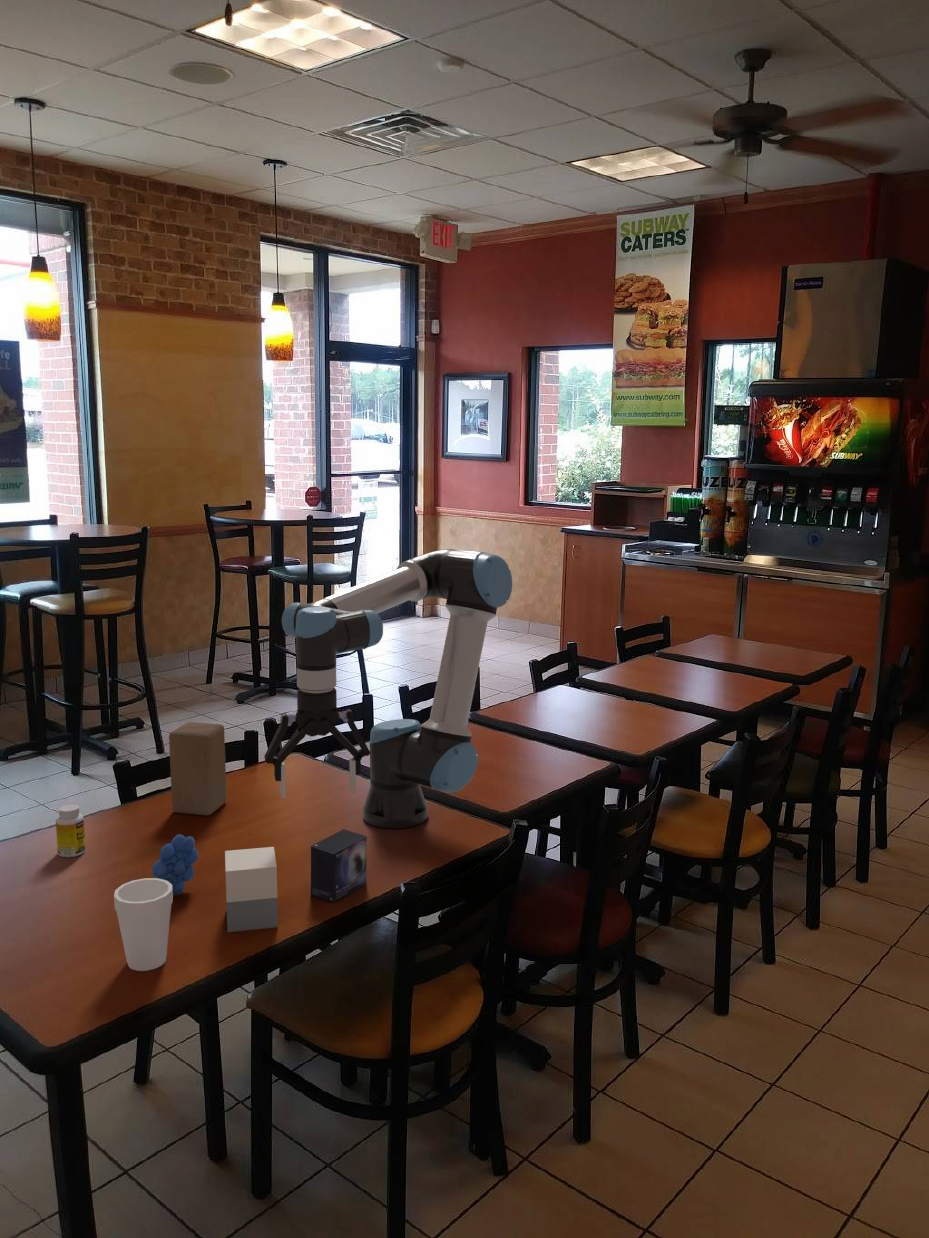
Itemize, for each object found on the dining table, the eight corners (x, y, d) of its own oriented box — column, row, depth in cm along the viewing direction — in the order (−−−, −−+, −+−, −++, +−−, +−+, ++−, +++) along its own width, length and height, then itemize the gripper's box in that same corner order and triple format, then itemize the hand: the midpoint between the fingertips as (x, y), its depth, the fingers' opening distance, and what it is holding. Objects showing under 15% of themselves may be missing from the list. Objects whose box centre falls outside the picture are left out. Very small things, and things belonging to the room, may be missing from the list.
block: (210, 817, 232) (206, 735, 228) (170, 813, 234) (167, 732, 230) (228, 802, 241) (225, 723, 238) (190, 798, 243) (187, 720, 240)
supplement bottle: (80, 858, 209) (77, 812, 207) (53, 858, 209) (50, 812, 207) (89, 847, 214) (86, 802, 213) (63, 847, 214) (60, 802, 212)
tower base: (275, 904, 190) (274, 875, 189) (278, 927, 181) (277, 897, 180) (227, 909, 188) (226, 880, 187) (227, 932, 179) (226, 902, 178)
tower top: (274, 876, 189) (273, 846, 188) (277, 897, 180) (276, 866, 179) (226, 880, 187) (225, 850, 185) (226, 902, 178) (225, 871, 177)
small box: (335, 904, 190) (334, 853, 188) (309, 896, 194) (308, 845, 192) (368, 884, 199) (368, 834, 197) (343, 876, 202) (342, 827, 200)
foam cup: (181, 947, 174) (178, 878, 171) (168, 975, 165) (164, 903, 162) (127, 947, 174) (123, 878, 171) (110, 975, 164) (106, 903, 162)
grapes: (181, 878, 200) (179, 822, 198) (207, 885, 197) (204, 829, 195) (137, 901, 190) (134, 842, 188) (163, 909, 187) (160, 850, 185)
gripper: (376, 679, 197) (377, 781, 201) (249, 686, 190) (251, 791, 194) (384, 689, 190) (384, 794, 194) (252, 696, 183) (254, 805, 187)
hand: (318, 793), depth 194 cm, fingers open, 13 cm apart
